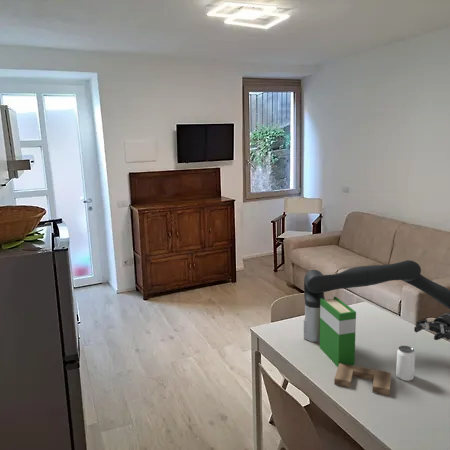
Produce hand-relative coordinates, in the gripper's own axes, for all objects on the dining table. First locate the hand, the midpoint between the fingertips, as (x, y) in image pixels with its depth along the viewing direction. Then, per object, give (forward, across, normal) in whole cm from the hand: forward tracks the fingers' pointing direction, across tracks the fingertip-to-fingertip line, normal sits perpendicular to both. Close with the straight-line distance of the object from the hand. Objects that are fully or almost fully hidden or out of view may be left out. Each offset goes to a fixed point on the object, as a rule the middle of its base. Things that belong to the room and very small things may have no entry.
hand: (424, 333), depth 164 cm
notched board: (+28, -8, +15) cm, 32 cm away
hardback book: (+22, -27, +15) cm, 38 cm away
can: (+12, 0, +15) cm, 19 cm away
